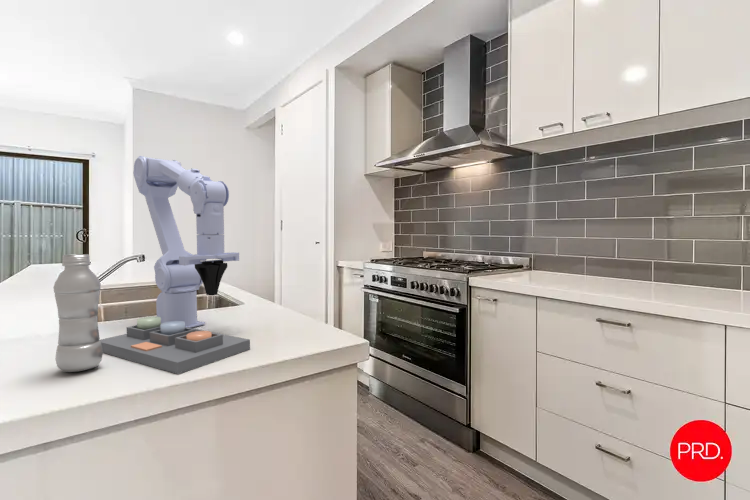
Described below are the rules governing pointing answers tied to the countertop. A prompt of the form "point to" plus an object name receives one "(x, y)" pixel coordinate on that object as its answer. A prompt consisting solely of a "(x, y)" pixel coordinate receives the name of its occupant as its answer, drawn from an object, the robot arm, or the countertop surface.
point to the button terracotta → (198, 335)
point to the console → (172, 348)
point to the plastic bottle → (77, 315)
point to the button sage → (148, 323)
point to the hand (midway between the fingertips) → (211, 294)
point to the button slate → (172, 327)
